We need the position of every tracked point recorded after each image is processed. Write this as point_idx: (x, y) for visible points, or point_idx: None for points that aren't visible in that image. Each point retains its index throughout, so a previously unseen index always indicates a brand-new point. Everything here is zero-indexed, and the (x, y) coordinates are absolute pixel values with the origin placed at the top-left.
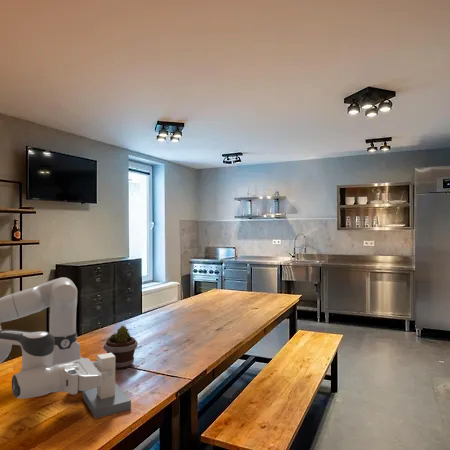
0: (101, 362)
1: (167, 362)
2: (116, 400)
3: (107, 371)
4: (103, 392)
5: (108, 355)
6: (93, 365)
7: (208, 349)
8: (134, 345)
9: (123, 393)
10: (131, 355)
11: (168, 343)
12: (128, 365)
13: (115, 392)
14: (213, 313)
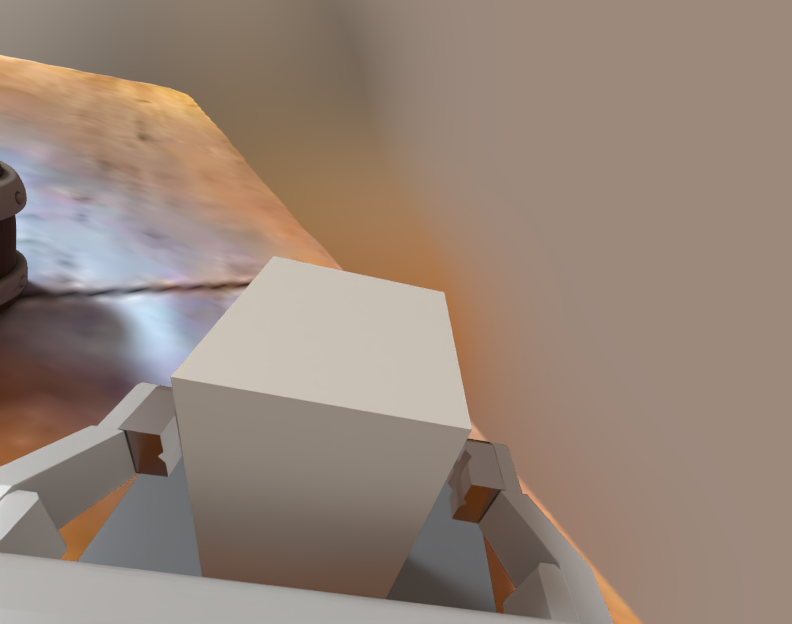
0: (448, 465)
1: (174, 240)
2: (436, 555)
3: (523, 495)
4: None
5: (360, 307)
6: (259, 607)
7: (220, 187)
8: (19, 181)
9: None
10: (15, 239)
11: (47, 175)
12: (19, 292)
13: None
14: (50, 99)
